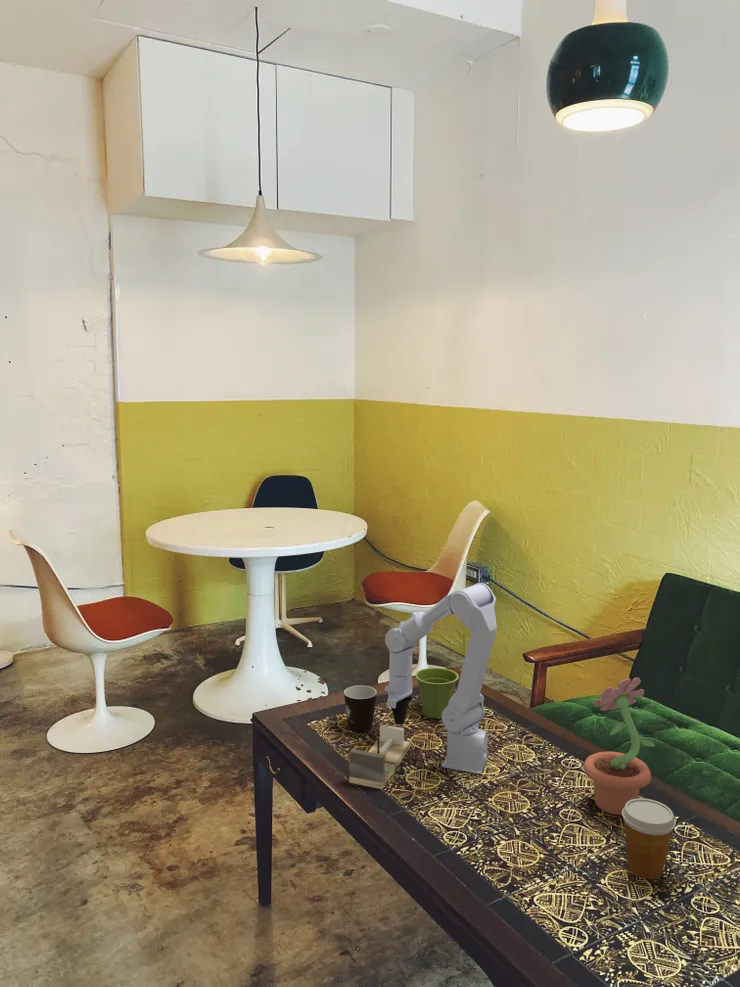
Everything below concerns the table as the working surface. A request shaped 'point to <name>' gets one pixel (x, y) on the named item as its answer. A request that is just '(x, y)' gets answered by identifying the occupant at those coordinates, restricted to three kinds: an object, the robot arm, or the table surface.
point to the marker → (380, 751)
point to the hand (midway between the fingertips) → (399, 723)
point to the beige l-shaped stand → (375, 765)
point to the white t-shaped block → (391, 736)
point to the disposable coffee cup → (647, 836)
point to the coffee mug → (360, 708)
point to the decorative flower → (618, 755)
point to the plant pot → (436, 689)
